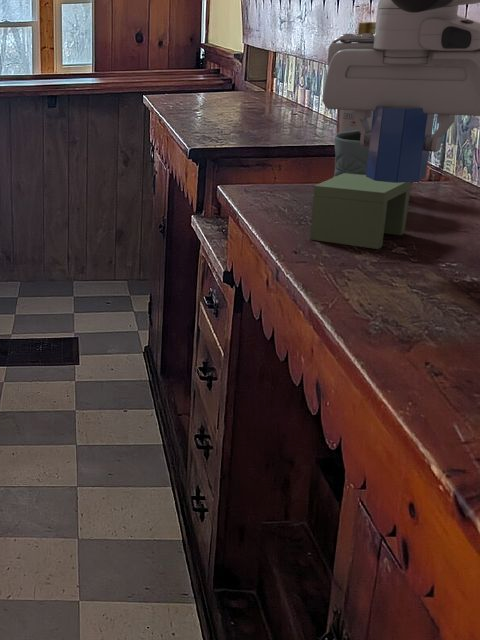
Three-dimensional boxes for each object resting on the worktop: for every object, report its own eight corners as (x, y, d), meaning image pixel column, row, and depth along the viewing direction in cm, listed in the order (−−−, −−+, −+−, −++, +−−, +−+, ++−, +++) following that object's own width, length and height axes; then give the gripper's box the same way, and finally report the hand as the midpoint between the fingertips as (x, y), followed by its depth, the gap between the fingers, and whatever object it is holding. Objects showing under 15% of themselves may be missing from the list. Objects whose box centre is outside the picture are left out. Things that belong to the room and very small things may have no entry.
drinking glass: (386, 201, 145) (395, 128, 141) (401, 216, 136) (411, 139, 132) (323, 202, 147) (329, 130, 143) (333, 217, 138) (341, 141, 133)
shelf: (404, 233, 127) (411, 179, 124) (378, 249, 121) (384, 192, 118) (338, 224, 134) (343, 173, 131) (309, 239, 127) (314, 185, 124)
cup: (431, 175, 111) (441, 102, 108) (412, 184, 107) (422, 109, 104) (379, 170, 116) (387, 100, 112) (359, 179, 111) (367, 107, 108)
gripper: (319, 35, 109) (309, 146, 115) (497, 33, 96) (476, 159, 101) (340, 32, 113) (330, 139, 119) (513, 29, 100) (493, 150, 105)
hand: (399, 148), depth 110 cm, fingers closed on cup, 6 cm apart
